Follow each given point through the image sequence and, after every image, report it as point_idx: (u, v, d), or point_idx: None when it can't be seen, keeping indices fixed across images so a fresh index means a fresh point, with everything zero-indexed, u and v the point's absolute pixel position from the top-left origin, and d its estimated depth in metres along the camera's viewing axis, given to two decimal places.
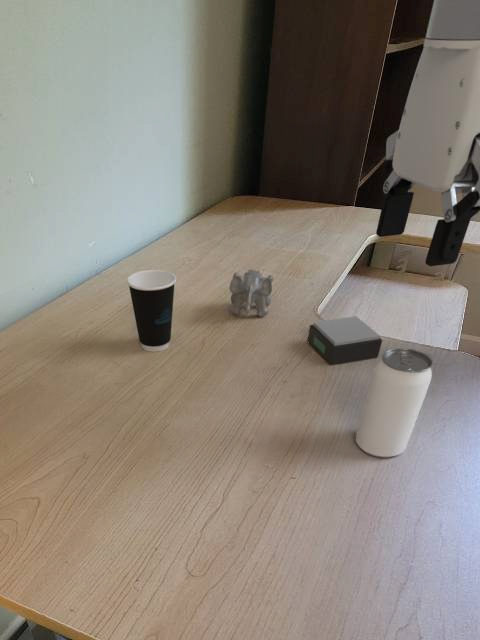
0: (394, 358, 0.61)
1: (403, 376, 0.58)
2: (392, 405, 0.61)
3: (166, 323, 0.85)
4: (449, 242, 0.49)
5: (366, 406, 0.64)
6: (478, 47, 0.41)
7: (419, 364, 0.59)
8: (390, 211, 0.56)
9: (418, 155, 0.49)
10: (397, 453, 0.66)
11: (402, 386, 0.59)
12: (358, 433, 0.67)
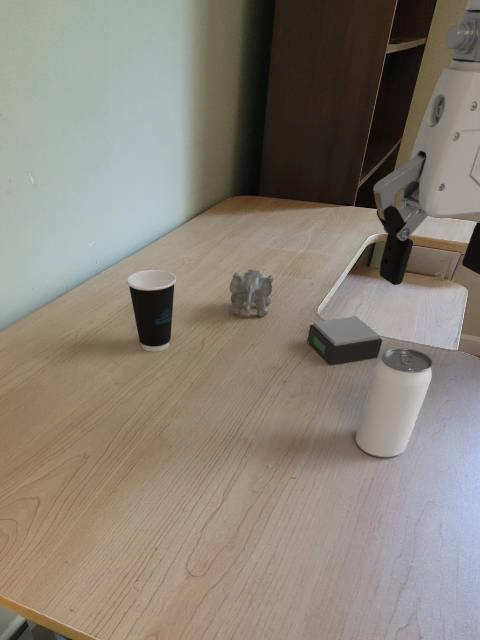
0: (394, 358, 0.61)
1: (403, 376, 0.58)
2: (392, 405, 0.61)
3: (166, 323, 0.85)
4: (384, 255, 0.51)
5: (366, 406, 0.64)
6: (450, 66, 0.42)
7: (419, 364, 0.59)
8: (473, 241, 0.52)
9: None
10: (397, 453, 0.66)
11: (402, 386, 0.59)
12: (358, 433, 0.67)
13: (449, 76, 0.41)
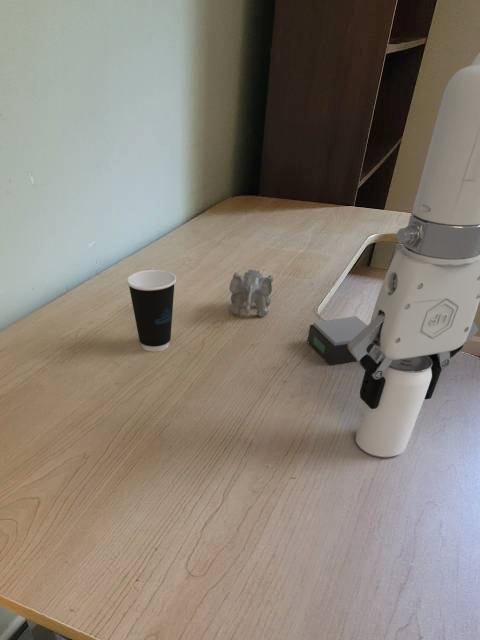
0: None
1: (403, 376, 0.58)
2: (392, 405, 0.61)
3: (166, 323, 0.85)
4: (363, 385, 0.61)
5: (366, 406, 0.64)
6: (402, 249, 0.52)
7: (419, 364, 0.59)
8: None
9: None
10: (397, 453, 0.66)
11: (402, 386, 0.59)
12: (358, 433, 0.67)
13: (400, 261, 0.51)
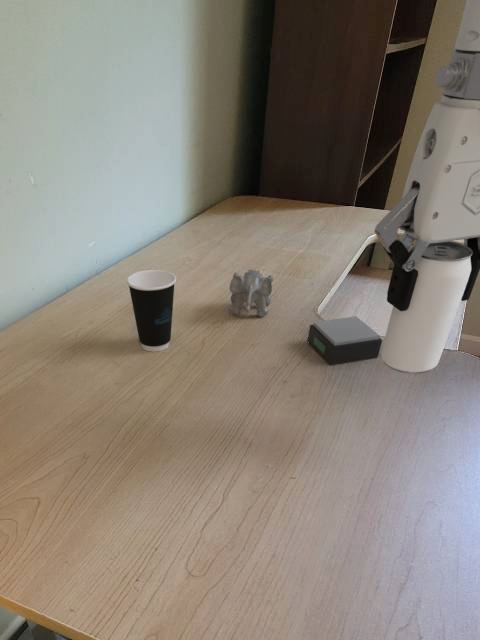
0: (427, 250, 0.53)
1: (439, 266, 0.50)
2: (425, 305, 0.53)
3: (166, 323, 0.85)
4: (391, 283, 0.53)
5: (394, 312, 0.56)
6: (441, 101, 0.44)
7: (457, 254, 0.52)
8: None
9: None
10: (429, 367, 0.58)
11: (438, 279, 0.51)
12: (384, 347, 0.59)
13: (440, 112, 0.43)
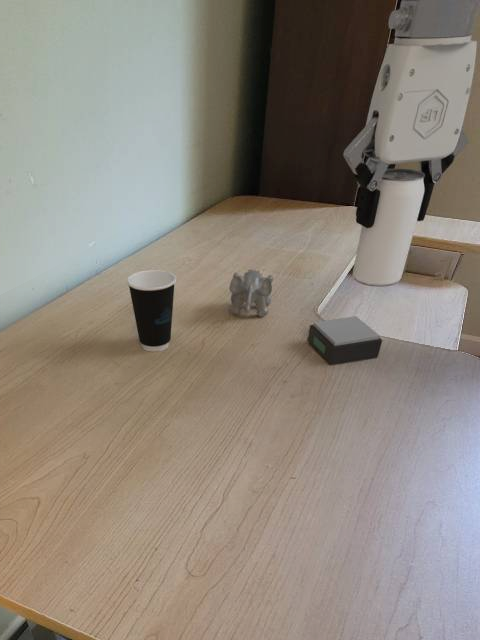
0: (388, 175, 0.63)
1: (397, 185, 0.61)
2: (387, 221, 0.63)
3: (166, 323, 0.85)
4: (358, 204, 0.64)
5: (362, 231, 0.67)
6: (394, 42, 0.54)
7: (412, 177, 0.62)
8: None
9: None
10: (393, 280, 0.68)
11: (396, 197, 0.61)
12: (355, 265, 0.70)
13: (392, 50, 0.53)
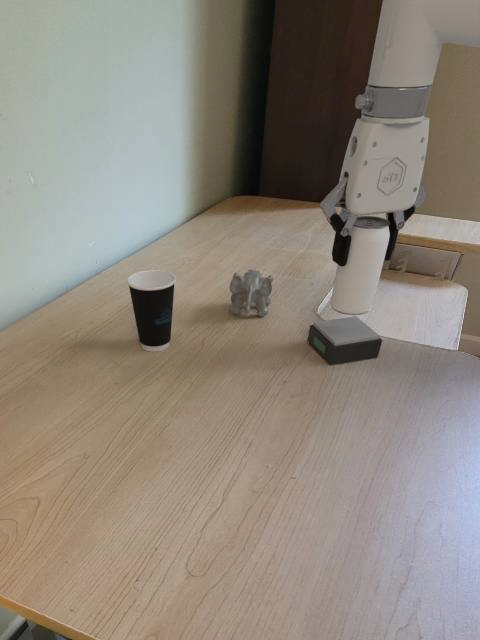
0: (359, 222, 0.74)
1: (365, 232, 0.72)
2: (357, 261, 0.74)
3: (166, 323, 0.85)
4: (334, 246, 0.75)
5: (337, 268, 0.78)
6: (361, 117, 0.65)
7: (379, 225, 0.73)
8: None
9: None
10: (364, 310, 0.79)
11: (365, 242, 0.72)
12: (332, 296, 0.81)
13: (359, 125, 0.64)
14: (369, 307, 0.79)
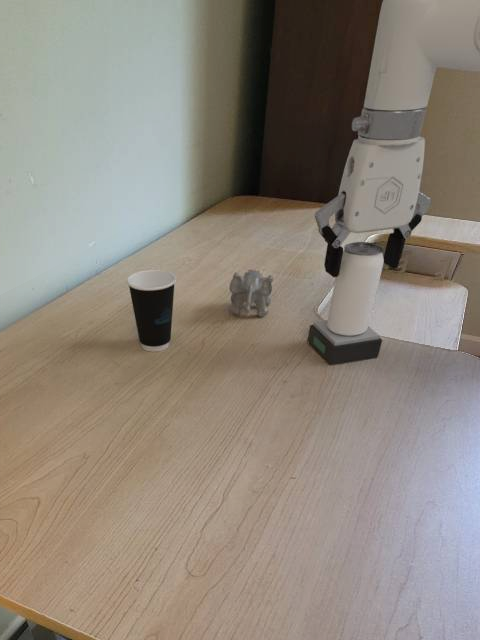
0: (354, 248, 0.76)
1: (360, 259, 0.74)
2: (353, 286, 0.77)
3: (166, 323, 0.85)
4: (326, 257, 0.75)
5: (333, 292, 0.80)
6: (358, 139, 0.67)
7: (373, 251, 0.75)
8: (388, 246, 0.77)
9: None
10: (359, 332, 0.82)
11: (359, 268, 0.75)
12: (328, 318, 0.83)
13: (356, 146, 0.66)
14: (364, 329, 0.82)
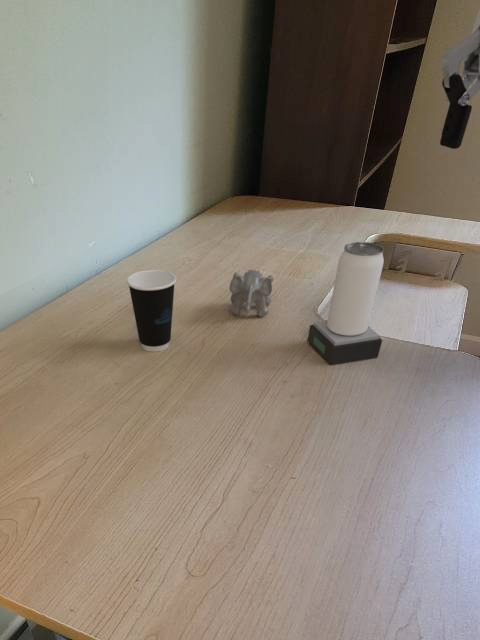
0: (354, 248, 0.76)
1: (360, 259, 0.74)
2: (353, 286, 0.77)
3: (166, 323, 0.85)
4: (446, 122, 0.61)
5: (333, 292, 0.80)
6: None
7: (373, 251, 0.75)
8: None
9: None
10: (359, 332, 0.82)
11: (359, 268, 0.75)
12: (328, 318, 0.83)
13: None
14: (364, 329, 0.82)
